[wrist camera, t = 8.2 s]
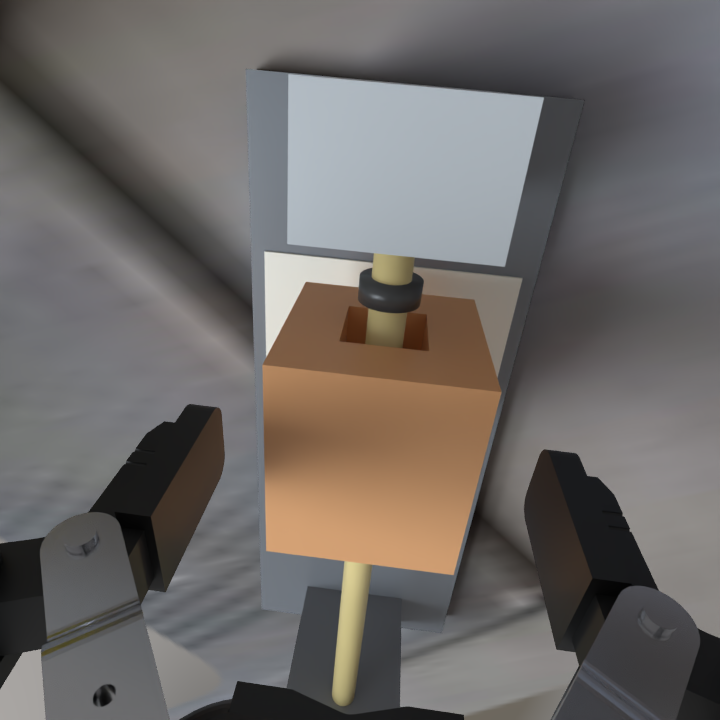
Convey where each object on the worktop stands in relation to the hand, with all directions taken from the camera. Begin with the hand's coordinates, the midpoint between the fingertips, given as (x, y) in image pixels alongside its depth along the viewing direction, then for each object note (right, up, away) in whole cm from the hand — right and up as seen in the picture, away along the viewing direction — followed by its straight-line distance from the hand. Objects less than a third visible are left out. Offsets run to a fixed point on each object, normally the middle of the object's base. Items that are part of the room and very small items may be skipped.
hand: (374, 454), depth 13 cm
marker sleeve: (0, +2, +4) cm, 5 cm away
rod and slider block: (0, 0, +9) cm, 9 cm away
